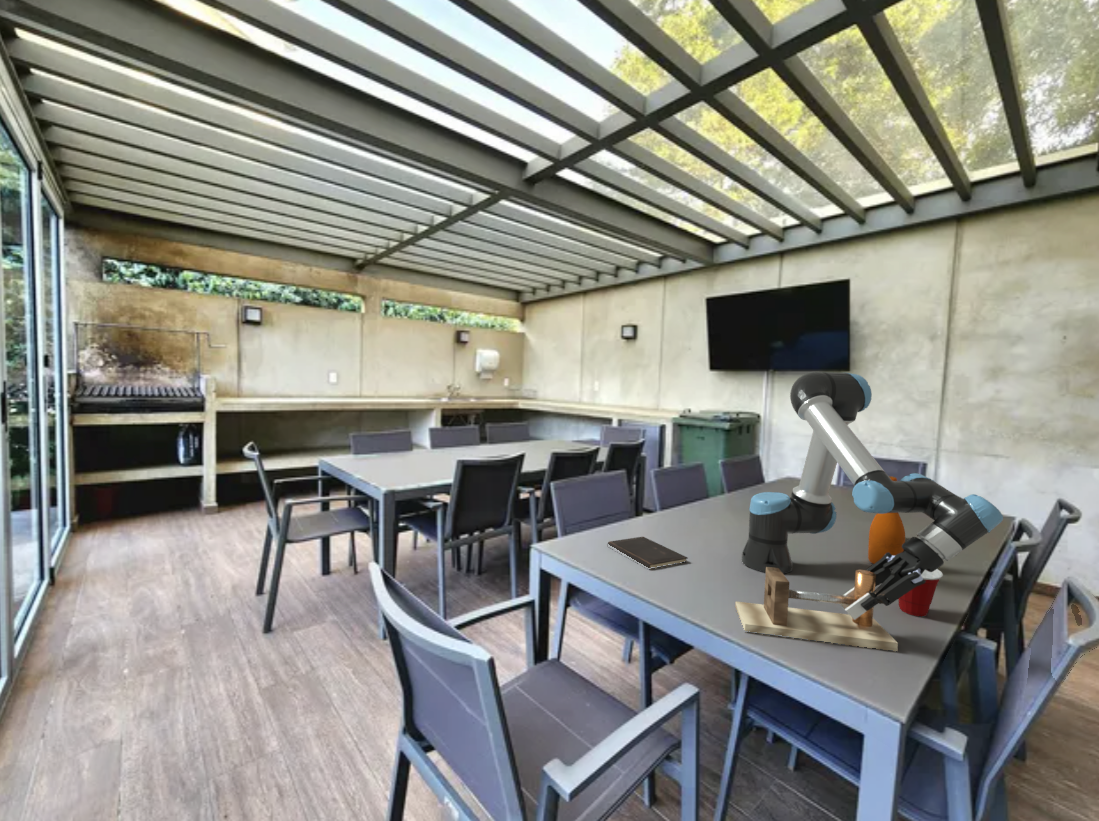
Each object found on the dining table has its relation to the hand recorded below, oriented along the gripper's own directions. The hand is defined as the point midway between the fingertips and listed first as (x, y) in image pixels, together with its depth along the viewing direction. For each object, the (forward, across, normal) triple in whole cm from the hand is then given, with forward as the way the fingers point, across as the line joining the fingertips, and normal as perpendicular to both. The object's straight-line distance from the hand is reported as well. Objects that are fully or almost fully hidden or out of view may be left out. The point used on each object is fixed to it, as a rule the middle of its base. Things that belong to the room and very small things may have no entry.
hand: (845, 609), depth 112 cm
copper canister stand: (+9, 0, +1) cm, 9 cm away
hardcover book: (+38, +40, +28) cm, 62 cm away
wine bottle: (-18, +54, -28) cm, 63 cm away
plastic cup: (-12, +17, -20) cm, 29 cm away
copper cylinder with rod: (+5, 0, +1) cm, 5 cm away
